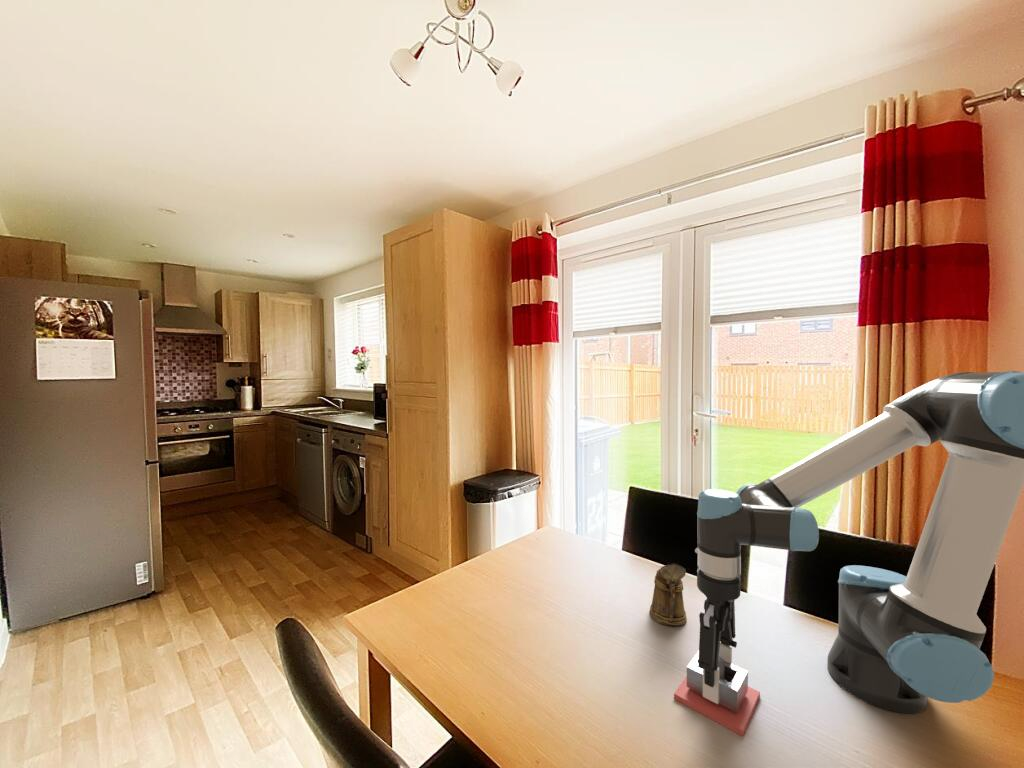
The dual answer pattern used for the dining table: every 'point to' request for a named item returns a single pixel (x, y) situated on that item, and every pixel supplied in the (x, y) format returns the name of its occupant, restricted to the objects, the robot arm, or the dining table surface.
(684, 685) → the stand
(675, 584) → the wooden mug
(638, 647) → the dining table surface
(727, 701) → the link
